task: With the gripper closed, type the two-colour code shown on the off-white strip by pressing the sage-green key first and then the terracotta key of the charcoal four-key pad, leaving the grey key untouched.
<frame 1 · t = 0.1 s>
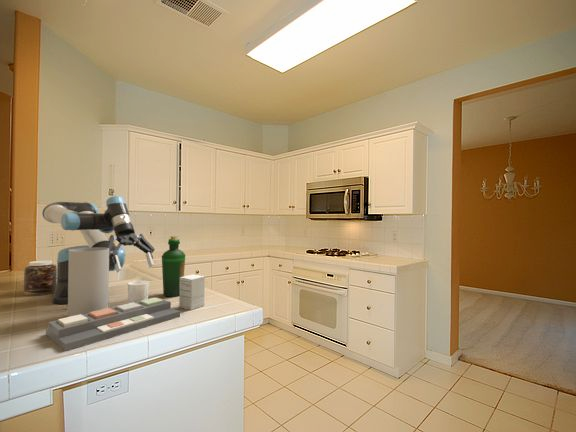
hand: (136, 268, 122), 15 cm above the counter, tool tilted 35°, fingers open, 13 cm apart
cylinder vase: (88, 316, 108), on the counter
white cup: (138, 306, 120), on the counter
supplement box: (191, 306, 121), on the counter
key terracotta: (102, 314, 98), point 4 cm above the counter, slide at 0.0 cm
jar: (40, 293, 138), on the counter
key grey: (128, 307, 105), point 4 cm above the counter, slide at 0.0 cm
key sage: (151, 302, 111), point 4 cm above the counter, slide at 0.0 cm
bottle: (173, 295, 138), on the counter
key white: (73, 321, 91), point 4 cm above the counter, slide at 0.0 cm
key pad: (118, 324, 100), on the counter
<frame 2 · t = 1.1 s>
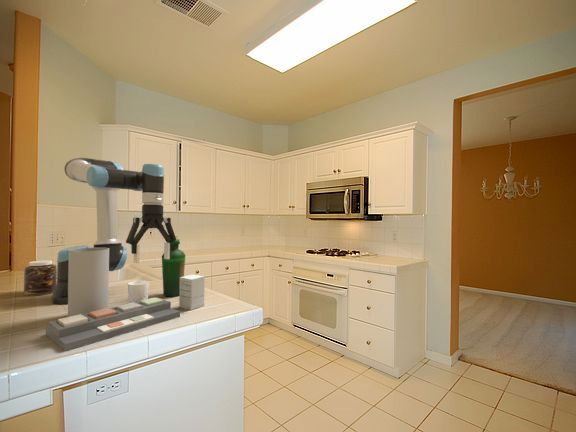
hand: (152, 260, 111), 21 cm above the counter, tool pointing down, fingers open, 11 cm apart
nothing on the counter moved.
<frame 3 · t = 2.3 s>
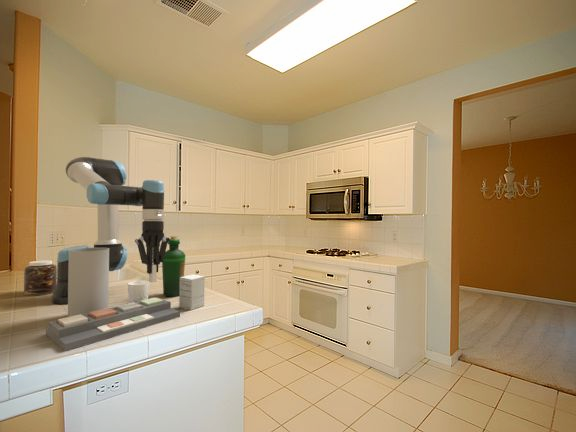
hand: (152, 281, 111), 13 cm above the counter, tool pointing down, fingers closed
nothing on the counter moved.
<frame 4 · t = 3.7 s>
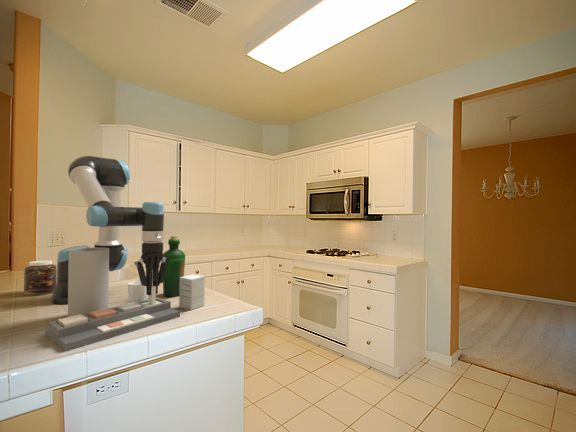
hand: (151, 302, 111), 4 cm above the counter, tool pointing down, fingers closed
key sage: (151, 305, 111), point 3 cm above the counter, slide at 1.2 cm
everything else where it was.
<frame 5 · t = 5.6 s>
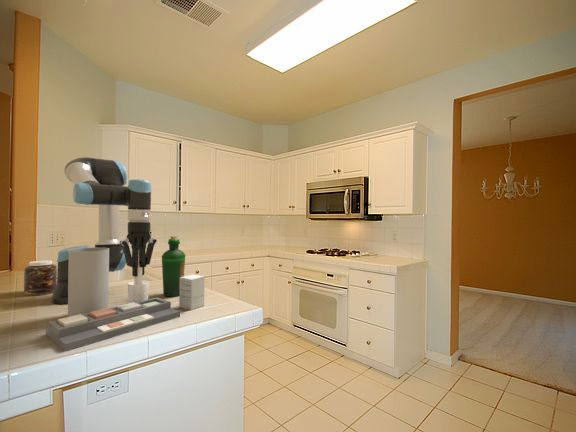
hand: (138, 284, 107), 12 cm above the counter, tool pointing down, fingers closed
key sage: (151, 306, 111), point 3 cm above the counter, slide at 1.6 cm
everything else where it was.
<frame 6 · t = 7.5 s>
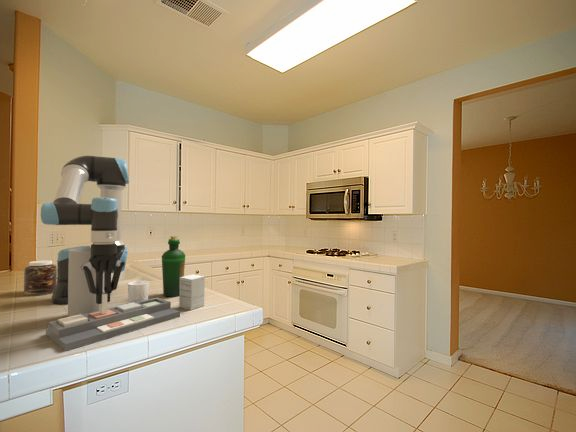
hand: (102, 312, 98), 5 cm above the counter, tool pointing down, fingers closed
key terracotta: (102, 315, 98), point 4 cm above the counter, slide at 0.5 cm, touching gripper
everything else where it was.
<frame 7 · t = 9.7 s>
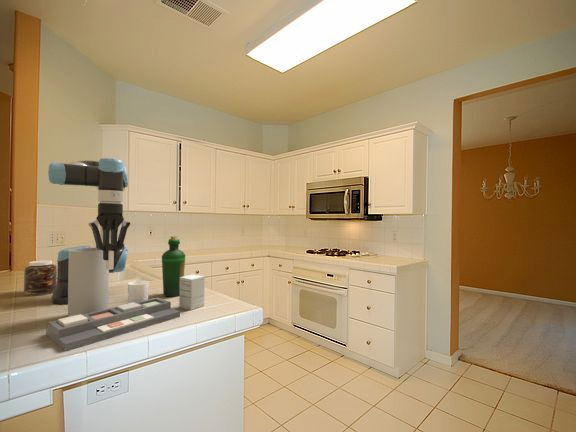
hand: (109, 268, 103), 19 cm above the counter, tool pointing down, fingers closed
key terracotta: (102, 318, 98), point 3 cm above the counter, slide at 1.6 cm
everything else where it was.
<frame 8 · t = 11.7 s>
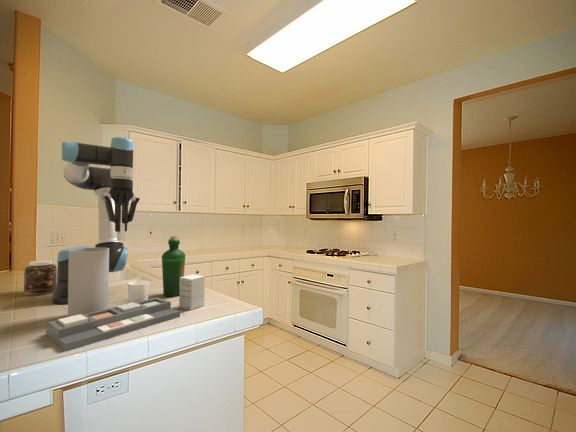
hand: (120, 240, 110), 28 cm above the counter, tool pointing down, fingers closed
nothing on the counter moved.
at the end: key sage slide at 1.6 cm; key terracotta slide at 1.6 cm; key grey slide at 0.0 cm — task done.
